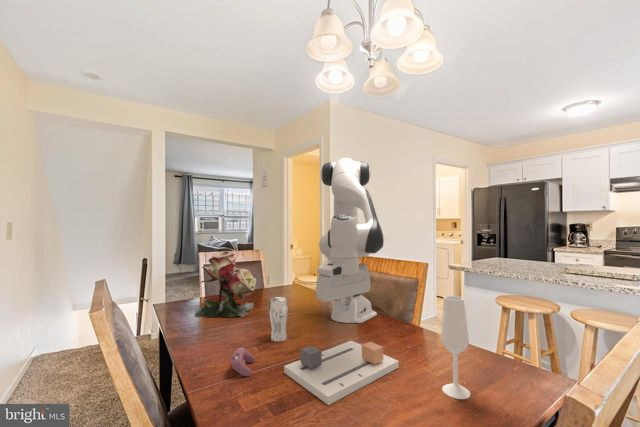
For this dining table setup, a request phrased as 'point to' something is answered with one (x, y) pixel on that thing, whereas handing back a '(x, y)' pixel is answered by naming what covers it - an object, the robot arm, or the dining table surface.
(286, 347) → the dining table surface
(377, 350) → the block
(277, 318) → the beer glass
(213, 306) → the rose bouquet
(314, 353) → the block
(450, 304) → the champagne flute
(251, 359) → the video game controller
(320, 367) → the fader panel
